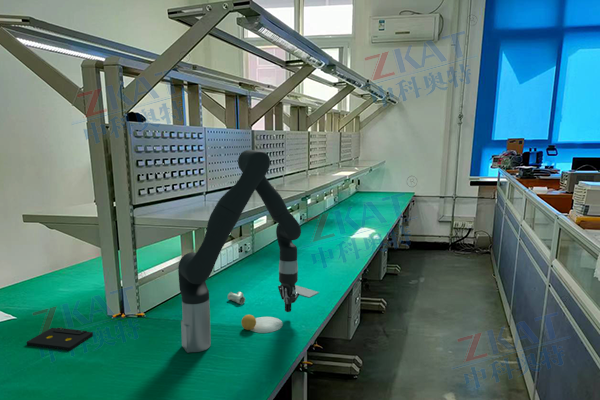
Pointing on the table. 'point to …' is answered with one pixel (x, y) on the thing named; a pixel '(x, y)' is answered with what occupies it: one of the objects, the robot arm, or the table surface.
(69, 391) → the table surface
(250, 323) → the ball
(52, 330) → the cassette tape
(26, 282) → the table surface
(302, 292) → the smartphone
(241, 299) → the pipe fitting
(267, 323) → the disc
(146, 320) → the table surface
